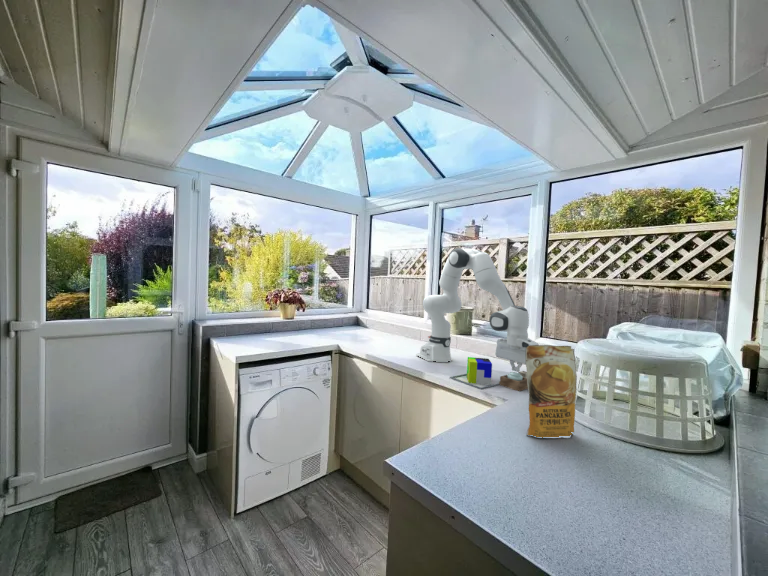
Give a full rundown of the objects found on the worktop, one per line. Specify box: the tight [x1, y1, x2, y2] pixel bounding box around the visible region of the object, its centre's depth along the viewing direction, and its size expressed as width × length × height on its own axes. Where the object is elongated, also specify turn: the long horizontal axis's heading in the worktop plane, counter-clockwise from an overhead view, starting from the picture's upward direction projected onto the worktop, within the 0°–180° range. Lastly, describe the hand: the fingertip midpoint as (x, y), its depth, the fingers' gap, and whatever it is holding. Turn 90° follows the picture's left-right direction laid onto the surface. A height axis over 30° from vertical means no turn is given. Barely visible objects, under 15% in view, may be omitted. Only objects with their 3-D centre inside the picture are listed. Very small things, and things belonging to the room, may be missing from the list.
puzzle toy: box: [466, 356, 493, 386], centre depth 154 cm, size 10×10×10 cm
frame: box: [449, 372, 501, 391], centre depth 154 cm, size 19×17×1 cm
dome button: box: [507, 371, 523, 381], centre depth 148 cm, size 6×6×3 cm
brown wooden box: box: [498, 370, 528, 392], centre depth 150 cm, size 10×16×6 cm, turn 126°
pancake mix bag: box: [525, 344, 578, 438], centre depth 101 cm, size 7×19×28 cm, turn 98°
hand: (515, 371), depth 148 cm, fingers closed
